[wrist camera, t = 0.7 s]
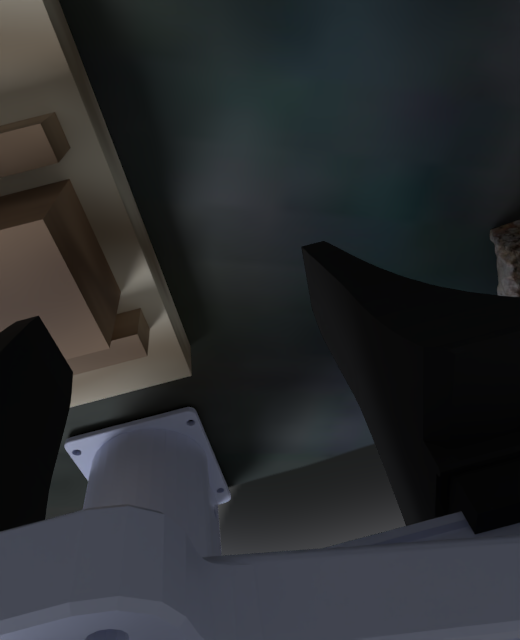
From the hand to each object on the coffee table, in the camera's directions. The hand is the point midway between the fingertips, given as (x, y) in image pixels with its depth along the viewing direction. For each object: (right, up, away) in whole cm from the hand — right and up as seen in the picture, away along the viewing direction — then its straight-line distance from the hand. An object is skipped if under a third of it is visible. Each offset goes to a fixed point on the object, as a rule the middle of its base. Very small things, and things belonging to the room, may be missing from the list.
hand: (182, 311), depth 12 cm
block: (-7, +2, +6) cm, 9 cm away
